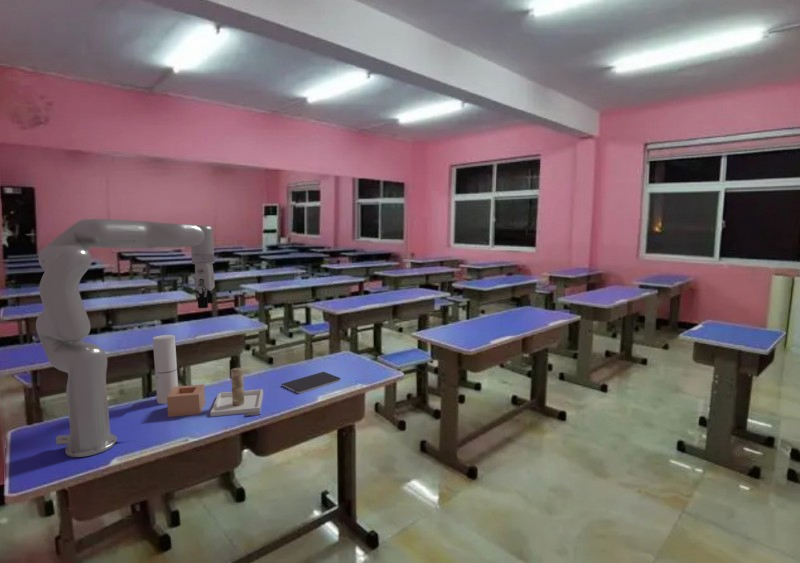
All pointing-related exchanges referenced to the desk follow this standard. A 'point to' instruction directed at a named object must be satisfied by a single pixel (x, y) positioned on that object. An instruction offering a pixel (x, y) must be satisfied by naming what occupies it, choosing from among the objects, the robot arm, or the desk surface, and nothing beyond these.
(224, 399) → the tray
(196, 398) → the deep holder
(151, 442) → the desk surface
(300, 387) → the notebook
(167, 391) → the cylindrical container
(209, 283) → the robot arm
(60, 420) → the desk surface
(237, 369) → the dowel pin
